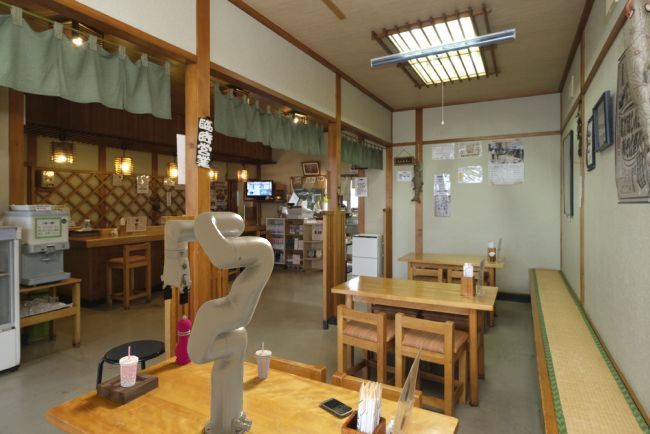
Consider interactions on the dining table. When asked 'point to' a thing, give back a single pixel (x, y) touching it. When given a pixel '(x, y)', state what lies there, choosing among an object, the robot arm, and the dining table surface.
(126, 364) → the beverage cup
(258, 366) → the smoothie
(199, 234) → the robot arm
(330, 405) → the cell phone
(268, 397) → the dining table surface
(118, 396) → the walnut tray
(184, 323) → the pepper mill
